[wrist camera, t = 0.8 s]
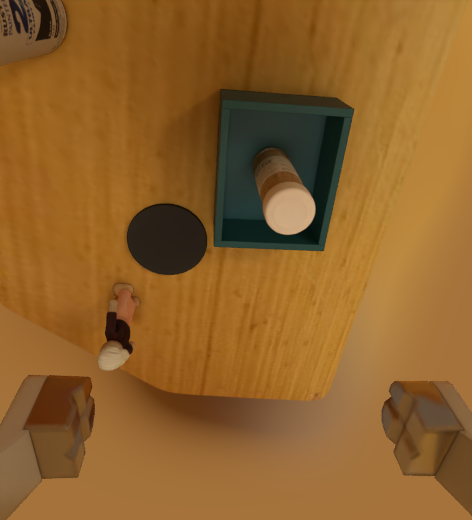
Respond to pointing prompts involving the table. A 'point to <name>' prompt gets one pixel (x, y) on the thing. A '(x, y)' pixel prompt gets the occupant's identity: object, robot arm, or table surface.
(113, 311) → the grandmother figurine
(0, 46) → the spray can
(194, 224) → the pad
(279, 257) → the table surface
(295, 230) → the sprinkles bottle
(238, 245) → the basin
